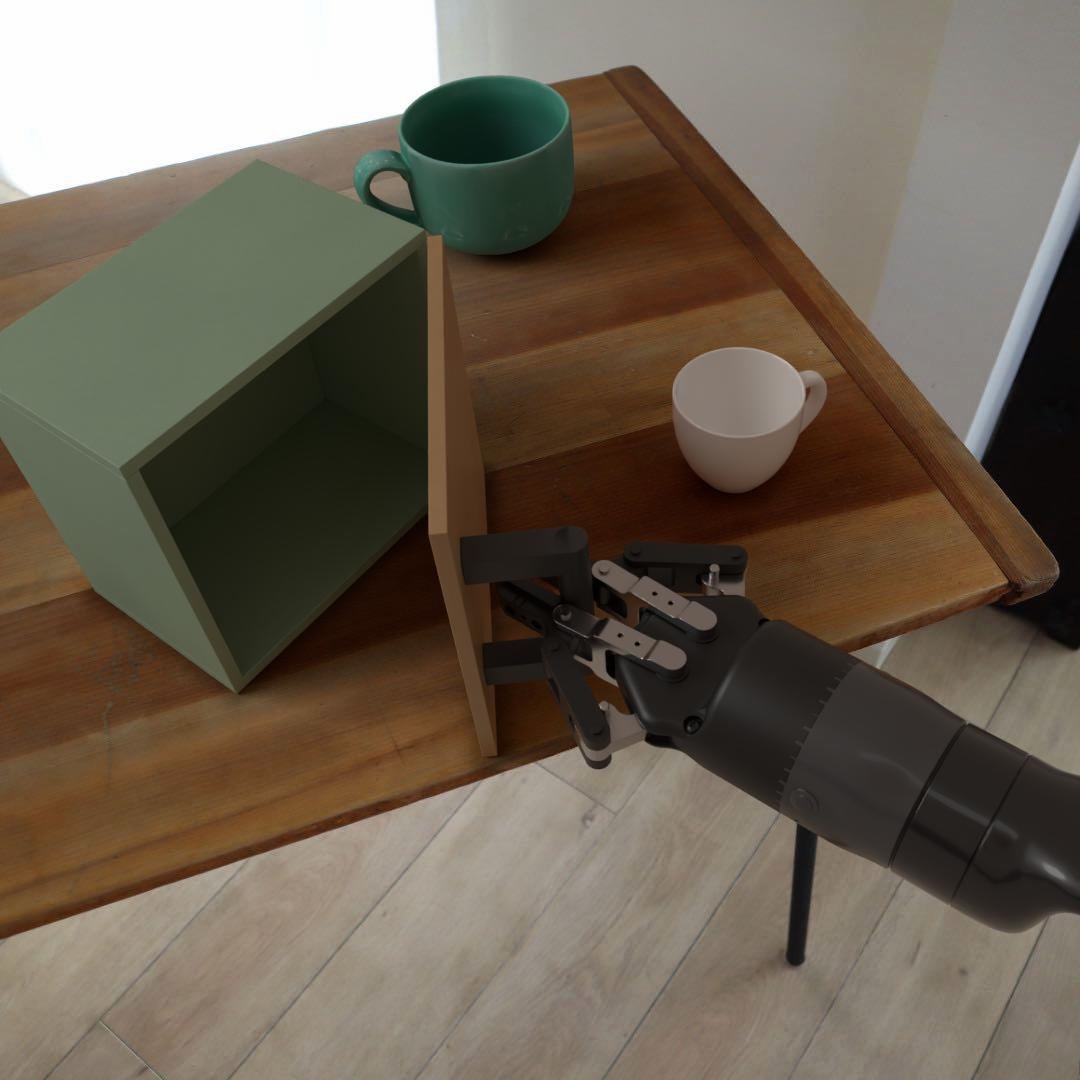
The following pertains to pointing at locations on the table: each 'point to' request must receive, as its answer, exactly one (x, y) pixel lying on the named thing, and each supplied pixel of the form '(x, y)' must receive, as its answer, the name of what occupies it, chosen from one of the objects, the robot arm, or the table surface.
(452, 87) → the mug
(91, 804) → the table surface
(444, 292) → the cupboard door
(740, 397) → the cup
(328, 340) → the cupboard
